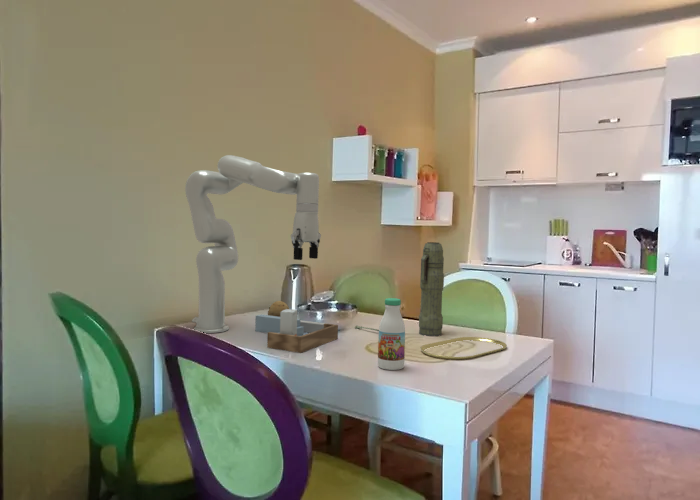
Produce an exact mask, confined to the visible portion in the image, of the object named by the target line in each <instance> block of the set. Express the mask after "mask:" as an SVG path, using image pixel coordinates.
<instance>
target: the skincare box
mask: <svg viewBox="0 0 700 500" xmlns="http://www.w3.org/2000/svg"><path fill="white" fill-rule="evenodd" d="M297 319H298V309H291V308H289V309H286V310H283V311H281V312H280V333H281V334H288V335H295V336H297Z"/></svg>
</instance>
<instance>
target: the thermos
mask: <svg viewBox="0 0 700 500" xmlns="http://www.w3.org/2000/svg"><path fill="white" fill-rule="evenodd" d="M444 260H445V259H444V249H443V245H442V243H440V242H435V241H434V242H432V241H430V242H426V243H424V245H423V249H422V256H421V259H420V283H419V286H420V287H419V288H420V295H421V296H420V313H419V316H418V327H419V331H418V333H419V335H421V336H424V335H426V337H440V336H442V335H443V331H442V330H443V321H444V320H443V319H444V317H443V314H442V310H443V309H442V305H443V291H444V287H445V285H444V283H445V281H444V280H445V274H444ZM441 334H442V335H441ZM439 335H440V336H439Z"/></svg>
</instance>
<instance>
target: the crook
mask: <svg viewBox="0 0 700 500" xmlns="http://www.w3.org/2000/svg"><path fill="white" fill-rule="evenodd" d="M254 320H255V325H254V326H255V329H254V330H255V332H259V333H265V334H267V333H268V332H274V333H280V317H277V316H269V315H268V314H263V313H262V314H258V315H255V319H254ZM300 321H301V319H299V318H297V336H303V335H305V332H304V327H302V326H300Z"/></svg>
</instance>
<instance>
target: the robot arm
mask: <svg viewBox="0 0 700 500" xmlns="http://www.w3.org/2000/svg"><path fill="white" fill-rule="evenodd" d="M216 166H217V170H218V171H213V170H208V169H201V170H196V171H193V172H192V173H191V174H190V175H189V176H188V178H187V180H186V183H185V188H184V189H185V190H184V191H185V197H186V199H187V202H188V207H189V211H190V215H191V221H192V225H193V226H192V227H193V231H194V236H195V238H196V240H197V241H198V242H199V243H201V244H214V246H213V245H211V246H206V247H205V246H204V247H203V248H201V249H200V250H199V251H198V253H197V254H196V258H195V260H196V261H195V263H196V264H195V265H196V268H197V275H198V316H195V317H193V318H192V319H191V323H196V326H194V328H193V330H194V329H195V330H198V331H201V332H204V333H203V334H215V333H216V334H217V333H222V332H227V331H228V330H229V328H230V327H229V325H227V324H225V318H226V317H225V313H226V312H225V307H226V306H225V304H226V301H225V299H226V296H225V295H226V283H225V278H224V275H223V273H222V271H229V270H232V269H234V268H236V266H237V265H238V262H239V252H238V247H237V242H236V237H235V231H234V229H233V226H232V225H231V224H230V222H229V221H227V220H226V219H223V218H217V217H216V214H215V208H214V205H213V203H212V201H211V199H210V198H209V196H208V194H209V195H210V194H213V195H226V194H229V193H230V192H232V191H233V190H234V189H236V188H238V187H239V186H240V185H242V184H243V183H244V184H246V185H250V186H253V187H256V188H259V189H262V190H265V191H269V192H272V193H276V194H285V195H295V196H296V204H295V205H296V206H295V209H296V210H295V213H294V216H293V217H294V218H293V223H292V224H293V225H292V233H291V234H290V239H291V244H292V248H293V260H296V261H302V260H303V249H304V248H303V245H304V243H309V245H310V246H309V248H308V249H309V250H308V251H309V253H308V256H309V259H318V258H319V255H318V254H319V247H320V243H321V238H322V234H321V233H320V228H319V227H320V226H319V197H320V195H319V194H320V193H319V192H320V191H319V189H320V176H319V174H318V173H315V172H299V173H294V172H289V171H285V170H283V171H282V170H279V169H275V168H272V167H267V166H265V165H262V163H261V162H258V161H255V160H251V159H247V158H245V157H242V156H237V155H233V154H226V155H224V156H222V157H220V158H219V160H218V161H217V165H216ZM195 330H194V331H195ZM201 332H200V333H201Z"/></svg>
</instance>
